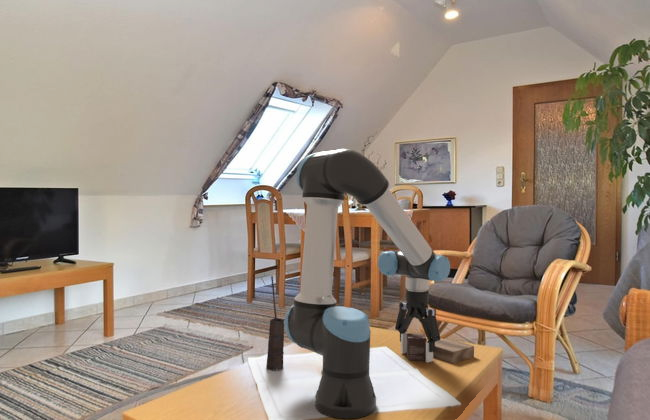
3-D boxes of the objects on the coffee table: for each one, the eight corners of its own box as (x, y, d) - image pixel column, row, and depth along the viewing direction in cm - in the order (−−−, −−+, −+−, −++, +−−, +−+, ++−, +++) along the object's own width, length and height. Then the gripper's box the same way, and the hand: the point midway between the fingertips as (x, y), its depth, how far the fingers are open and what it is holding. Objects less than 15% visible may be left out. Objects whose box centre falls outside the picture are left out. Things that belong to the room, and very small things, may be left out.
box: (424, 355, 152) (424, 333, 152) (426, 361, 146) (427, 338, 146) (406, 354, 153) (406, 332, 153) (407, 360, 147) (408, 337, 147)
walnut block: (452, 364, 145) (453, 352, 144) (426, 355, 153) (426, 343, 153) (473, 358, 151) (474, 346, 151) (447, 349, 160) (447, 338, 160)
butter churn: (299, 366, 140) (300, 276, 140) (280, 376, 132) (281, 280, 132) (277, 360, 145) (278, 273, 145) (256, 369, 137) (257, 276, 137)
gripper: (452, 293, 143) (452, 364, 143) (399, 283, 161) (399, 346, 161) (437, 296, 138) (436, 369, 138) (384, 285, 156) (384, 350, 156)
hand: (416, 356), depth 150 cm, fingers open, 10 cm apart
